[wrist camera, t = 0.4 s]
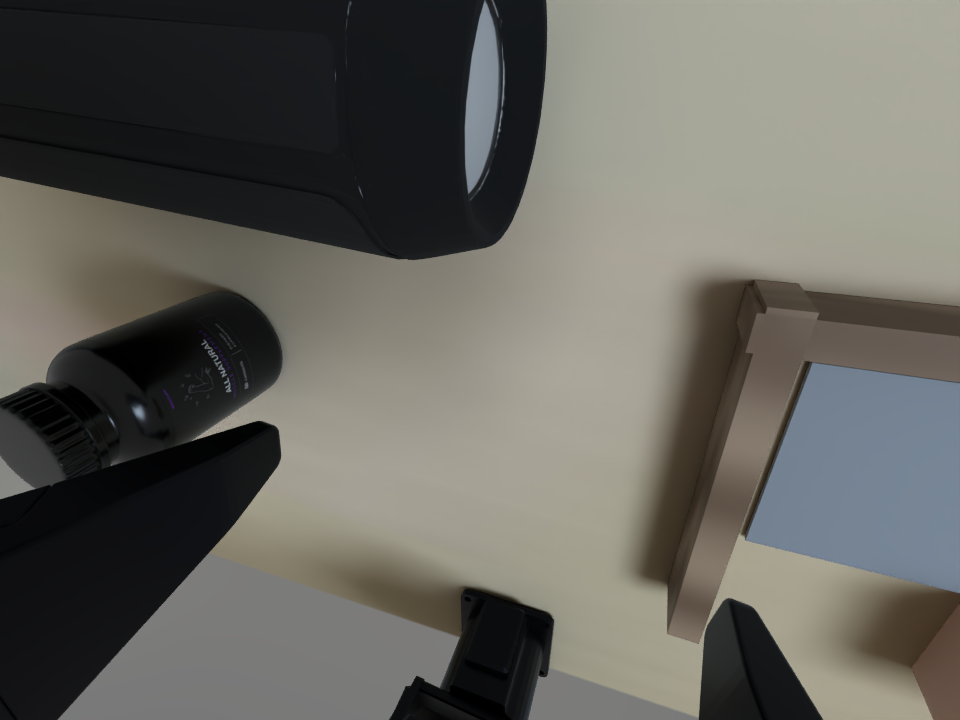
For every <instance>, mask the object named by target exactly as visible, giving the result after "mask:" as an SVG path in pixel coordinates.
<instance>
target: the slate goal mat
mask: <svg viewBox="0 0 960 720" xmlns="http://www.w3.org/2000/svg"><path fill="white" fill-rule="evenodd" d="M745 540H746V541H750V542H754V543H758V544H762V545H766V546H770V547H774V548H778V549H782V550H786V551H790V552H794V553H798V554H802V555H806V556H810V557H814V558H819V559H823V560H827V561H831V562H835V563H839V564H843V565H847V566H851V567H855V568H859V569H863V570H867V571H871V572H875V573H879V574H883V575H887V576H892V577H896V578H900V579H904V580H908V581H912V582H916V583H920V584H924V585H928V586H932V587H936V588H940V589H944V590H948V591H952V592H956V593H960V382H953V381H946V380H939V379H932V378H925V377H917V376H910V375H903V374H896V373H889V372H882V371H874V370H867V369H860V368H853V367H846V366H839V365H831V364H824V363H817V362H810V363H809V366H808V368H807V371H806V374H805V376H804V379H803V382H802V384H801V387H800V390H799V392H798V395H797V398H796V400H795V403H794V406H793V408H792V411H791V414H790V417H789V419H788V422H787V425H786V427H785V430H784V433H783V435H782V438H781V441H780V443H779V446H778V449H777V451H776V454H775V457H774V459H773V462H772V465H771V467H770V470H769V473H768V475H767V478H766V481H765V483H764V486H763V489H762V491H761V494H760V497H759V499H758V502H757V505H756V507H755V510H754V513H753V515H752V518H751V521H750V523H749V526H748V529H747V531H746V534H745Z"/></svg>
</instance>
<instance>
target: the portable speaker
mask: <svg viewBox="0 0 960 720" xmlns="http://www.w3.org/2000/svg"><path fill="white" fill-rule="evenodd" d="M546 53H547V7H546V0H0V176H2V177H7V178H11V179H16V180H21V181H26V182H31V183H35V184H40V185H45V186H50V187H55V188H59V189H64V190H69V191H74V192H79V193H83V194H88V195H93V196H98V197H102V198H107V199H112V200H117V201H122V202H126V203H131V204H136V205H141V206H146V207H150V208H155V209H160V210H165V211H169V212H174V213H179V214H184V215H189V216H193V217H198V218H203V219H208V220H213V221H217V222H222V223H227V224H232V225H237V226H241V227H246V228H251V229H256V230H260V231H265V232H270V233H275V234H280V235H284V236H289V237H294V238H299V239H304V240H308V241H313V242H318V243H323V244H327V245H332V246H337V247H342V248H347V249H351V250H356V251H361V252H366V253H371V254H375V255H380V256H385V257H390V258H394V259H408V260H418V259H426V258H432V257H438V256H444V255H449V254H454V253H460V252H465V251H471V250H476V249H481V248H487V247H489V246H492V245H493V244H495V243H496V242H497V241H499V240H500V239H501V237H502V236H503V235H504V233H505V232H506V230H507V229H508V227H509V226H510V224H511V222H512V220H513V218H514V215H515V213H516V211H517V208H518V206H519V203H520V200H521V198H522V195H523V192H524V189H525V186H526V182H527V178H528V175H529V171H530V167H531V163H532V159H533V154H534V150H535V145H536V139H537V134H538V129H539V123H540V117H541V109H542V100H543V91H544V83H545V70H546Z"/></svg>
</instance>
